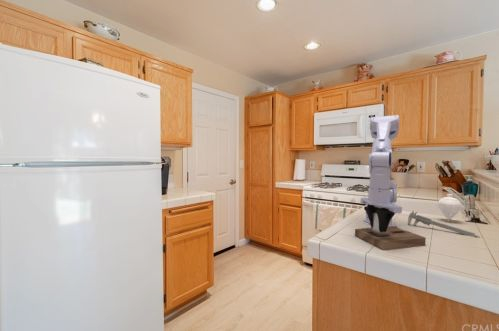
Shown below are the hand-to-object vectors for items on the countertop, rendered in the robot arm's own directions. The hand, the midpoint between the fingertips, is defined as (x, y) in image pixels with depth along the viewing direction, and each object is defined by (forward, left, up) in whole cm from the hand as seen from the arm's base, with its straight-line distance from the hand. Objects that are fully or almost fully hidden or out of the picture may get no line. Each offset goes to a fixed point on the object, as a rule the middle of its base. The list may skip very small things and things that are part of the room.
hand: (378, 229), depth 72 cm
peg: (0, 0, -3) cm, 3 cm away
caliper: (-4, +32, -4) cm, 33 cm away
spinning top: (-12, +48, -4) cm, 50 cm away
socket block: (0, +4, -4) cm, 6 cm away
